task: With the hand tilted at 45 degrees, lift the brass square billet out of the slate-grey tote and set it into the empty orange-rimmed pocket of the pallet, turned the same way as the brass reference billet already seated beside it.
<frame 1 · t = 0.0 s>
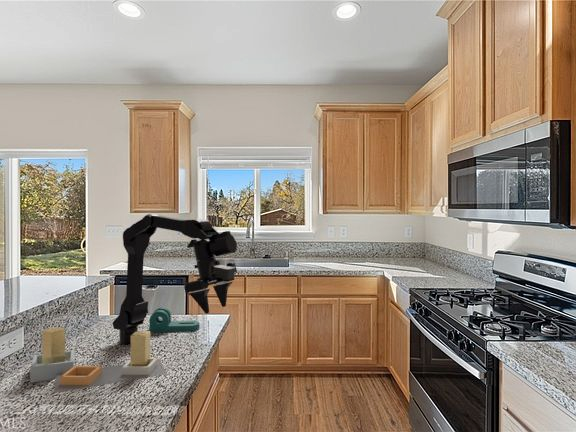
hand: (216, 309, 123), 15 cm above the counter, tool pointing down, fingers open, 9 cm apart
bracket: (175, 329, 155), on the counter
reference billet: (140, 369, 112), point 1 cm above the counter, touching pallet
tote: (53, 372, 113), on the counter
billet: (53, 365, 112), point 2 cm above the counter, touching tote
pallet: (108, 380, 108), on the counter
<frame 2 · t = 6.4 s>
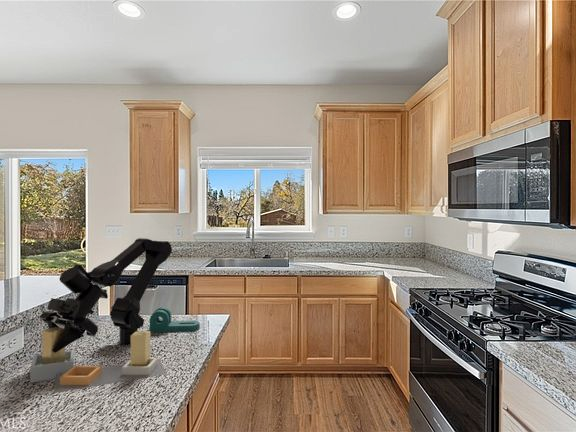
hand: (48, 350, 111), 7 cm above the counter, tool tilted 45°, fingers closed on billet, 4 cm apart
billet: (53, 365, 112), point 2 cm above the counter, touching gripper, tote
everything else where it was.
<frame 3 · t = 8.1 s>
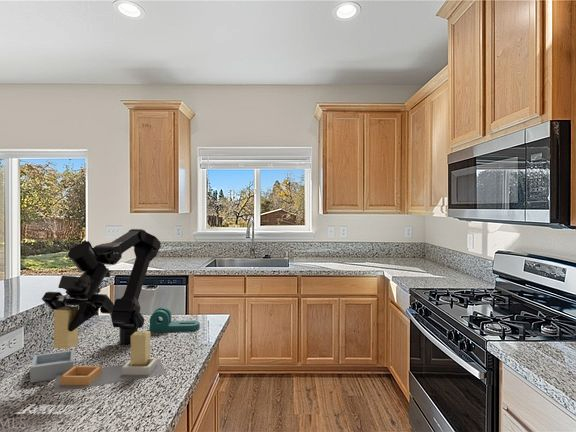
hand: (62, 330, 106), 14 cm above the counter, tool tilted 45°, fingers closed on billet, 4 cm apart
billet: (66, 346, 107), point 9 cm above the counter, touching gripper
everything else where it was.
when the fingers open (7 cm above the counter, at t = 10.2 s): billet drops 1 cm, resting on pallet.
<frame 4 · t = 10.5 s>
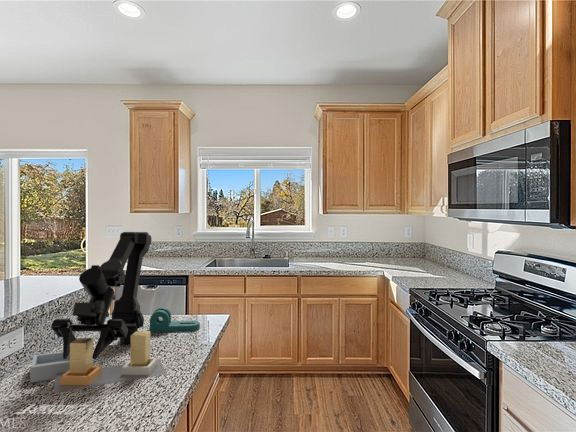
hand: (78, 358, 103), 7 cm above the counter, tool tilted 45°, fingers open, 7 cm apart
billet: (81, 378, 105), point 1 cm above the counter, touching pallet
everything else where it was.
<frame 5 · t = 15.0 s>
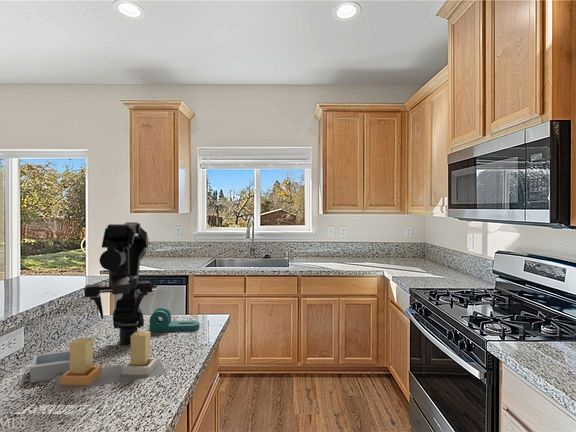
hand: (118, 316, 123), 13 cm above the counter, tool pointing down, fingers open, 9 cm apart
nothing on the counter moved.
at the end: billet 0.0 cm from the target spot on the pallet, point 1.5 cm above the pallet's base; billet tilted 0°; reference billet moved 0.0 cm from its start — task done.
